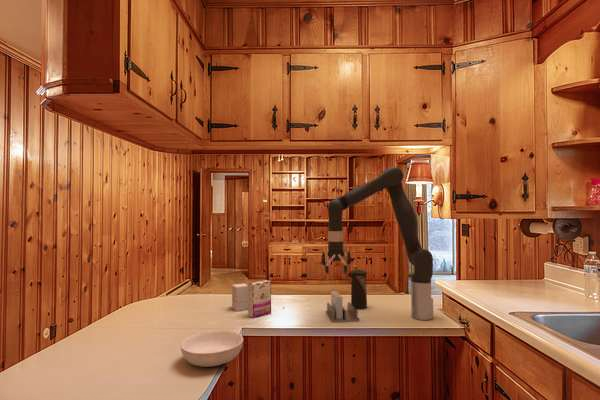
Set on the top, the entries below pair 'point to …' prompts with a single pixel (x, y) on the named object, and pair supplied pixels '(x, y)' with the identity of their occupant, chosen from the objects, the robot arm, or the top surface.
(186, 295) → the top surface
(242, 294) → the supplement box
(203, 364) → the serving bowl
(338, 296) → the dish slab
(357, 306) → the container
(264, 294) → the candy bar box
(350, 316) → the dish rack
